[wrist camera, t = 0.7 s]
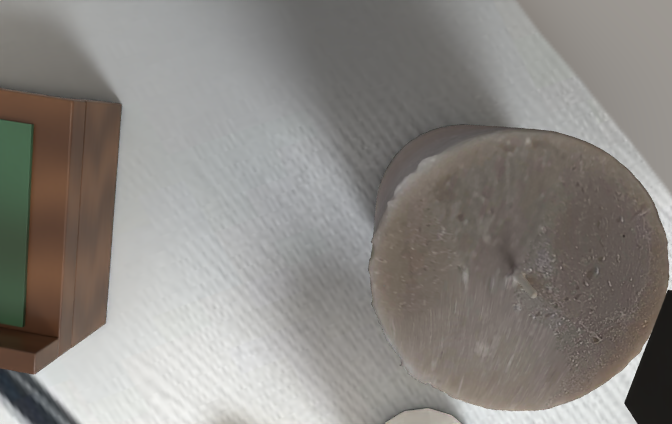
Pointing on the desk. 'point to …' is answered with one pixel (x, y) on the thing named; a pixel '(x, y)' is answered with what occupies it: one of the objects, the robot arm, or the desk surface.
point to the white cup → (423, 417)
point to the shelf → (54, 223)
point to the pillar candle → (514, 265)
